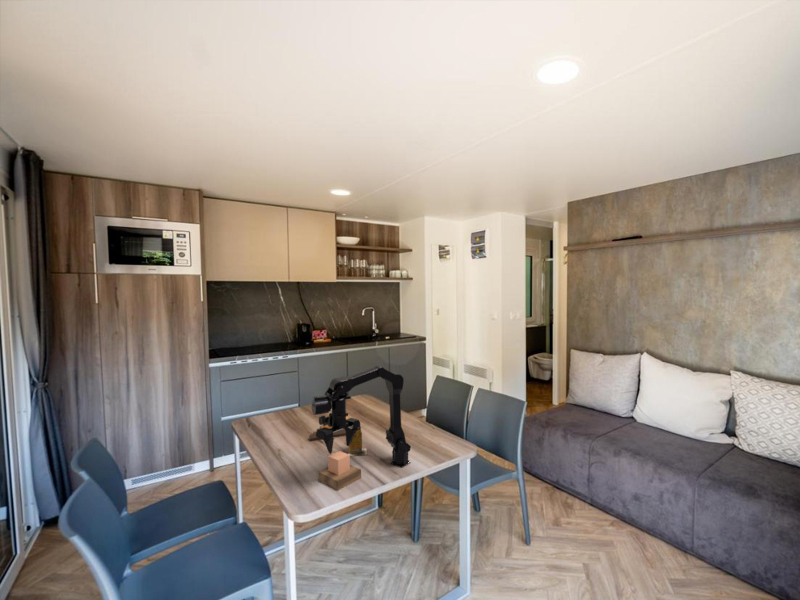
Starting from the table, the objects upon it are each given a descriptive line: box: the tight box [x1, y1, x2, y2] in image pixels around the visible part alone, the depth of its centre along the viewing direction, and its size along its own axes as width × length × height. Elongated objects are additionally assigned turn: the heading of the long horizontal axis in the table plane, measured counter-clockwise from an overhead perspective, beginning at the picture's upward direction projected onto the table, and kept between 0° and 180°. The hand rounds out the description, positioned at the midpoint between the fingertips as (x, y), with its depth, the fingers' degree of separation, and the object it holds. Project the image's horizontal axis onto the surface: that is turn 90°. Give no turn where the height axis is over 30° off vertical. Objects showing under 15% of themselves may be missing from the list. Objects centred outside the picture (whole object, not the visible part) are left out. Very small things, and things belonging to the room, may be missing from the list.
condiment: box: [347, 426, 368, 457], centre depth 172 cm, size 7×8×12 cm
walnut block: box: [317, 464, 362, 492], centre depth 147 cm, size 12×12×4 cm
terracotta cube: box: [327, 450, 351, 475], centre depth 147 cm, size 6×6×6 cm
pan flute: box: [308, 416, 350, 442], centre depth 202 cm, size 25×3×25 cm
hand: (339, 449), depth 147 cm, fingers open, 9 cm apart
